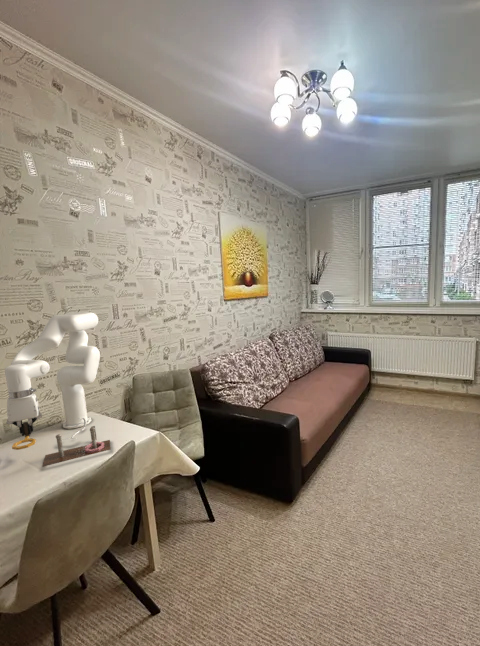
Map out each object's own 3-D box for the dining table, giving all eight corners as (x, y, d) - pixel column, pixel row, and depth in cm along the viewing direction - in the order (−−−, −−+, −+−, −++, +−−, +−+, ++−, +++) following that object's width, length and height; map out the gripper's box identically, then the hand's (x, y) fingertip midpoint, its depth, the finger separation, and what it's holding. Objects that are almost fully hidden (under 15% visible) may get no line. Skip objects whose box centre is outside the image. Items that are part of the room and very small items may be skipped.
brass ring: (17, 439, 132) (14, 423, 131) (38, 434, 136) (36, 419, 135) (10, 451, 122) (8, 435, 121) (34, 446, 126) (31, 430, 125)
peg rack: (45, 458, 132) (41, 433, 130) (110, 442, 144) (107, 419, 142) (42, 470, 123) (38, 443, 121) (111, 452, 136) (108, 428, 134)
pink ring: (85, 442, 142) (83, 428, 140) (103, 438, 145) (101, 424, 144) (84, 454, 132) (82, 439, 131) (104, 449, 136) (102, 434, 134)
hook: (96, 425, 160) (76, 451, 141) (76, 426, 159) (54, 452, 140) (93, 413, 158) (72, 438, 139) (73, 414, 157) (50, 439, 138)
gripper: (45, 387, 137) (50, 426, 140) (-2, 394, 129) (5, 435, 132) (42, 392, 131) (48, 432, 134) (-7, 400, 123) (0, 442, 126)
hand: (27, 433), depth 133 cm, fingers closed on brass ring, 1 cm apart
